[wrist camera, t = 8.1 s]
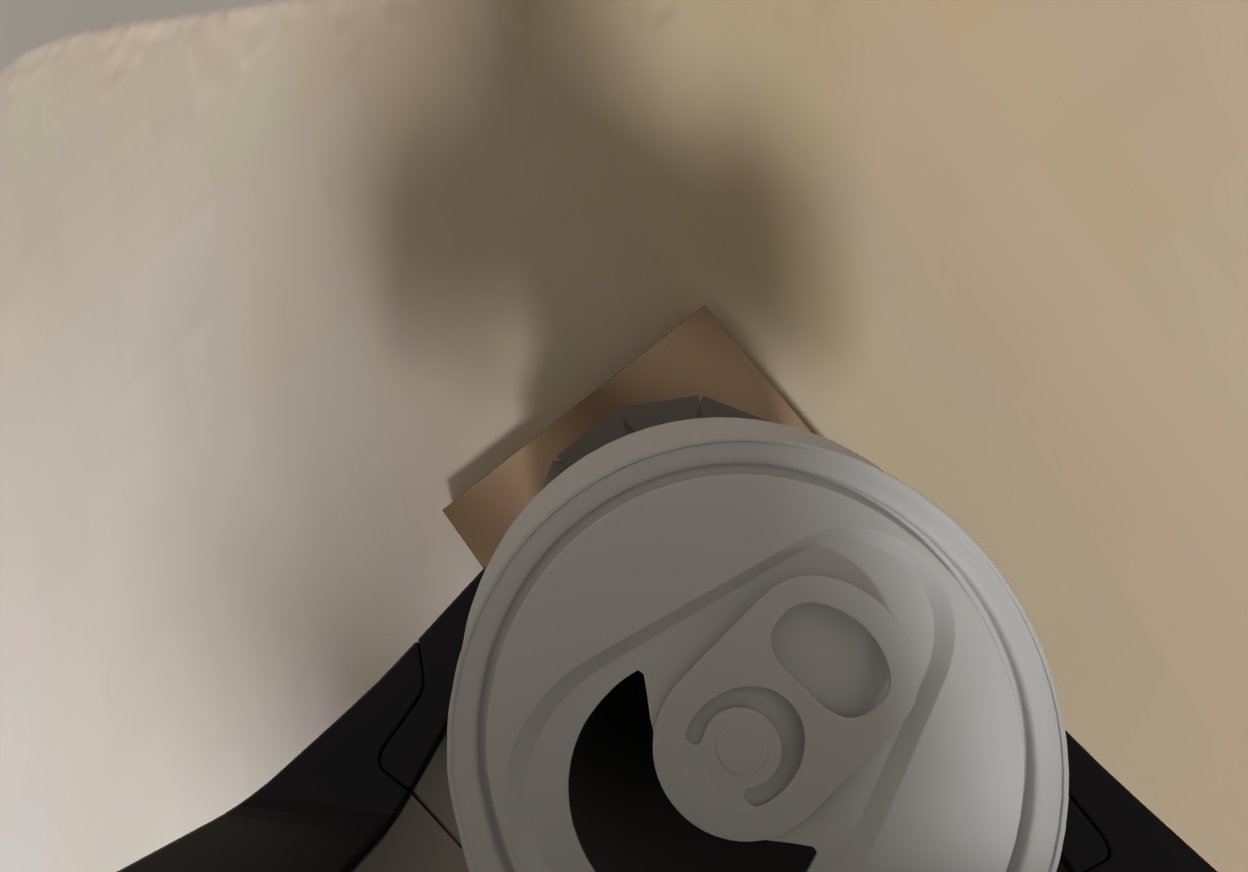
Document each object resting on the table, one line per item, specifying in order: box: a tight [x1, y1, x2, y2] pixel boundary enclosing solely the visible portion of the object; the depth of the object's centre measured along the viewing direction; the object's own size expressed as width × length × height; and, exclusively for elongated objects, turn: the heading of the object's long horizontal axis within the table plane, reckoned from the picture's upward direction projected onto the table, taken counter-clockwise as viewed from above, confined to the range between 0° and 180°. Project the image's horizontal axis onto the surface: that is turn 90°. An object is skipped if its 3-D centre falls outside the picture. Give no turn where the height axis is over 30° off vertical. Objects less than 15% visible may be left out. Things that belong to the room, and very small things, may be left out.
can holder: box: [443, 306, 812, 568], centre depth 17 cm, size 13×13×4 cm
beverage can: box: [447, 417, 1069, 872], centre depth 10 cm, size 6×6×12 cm
